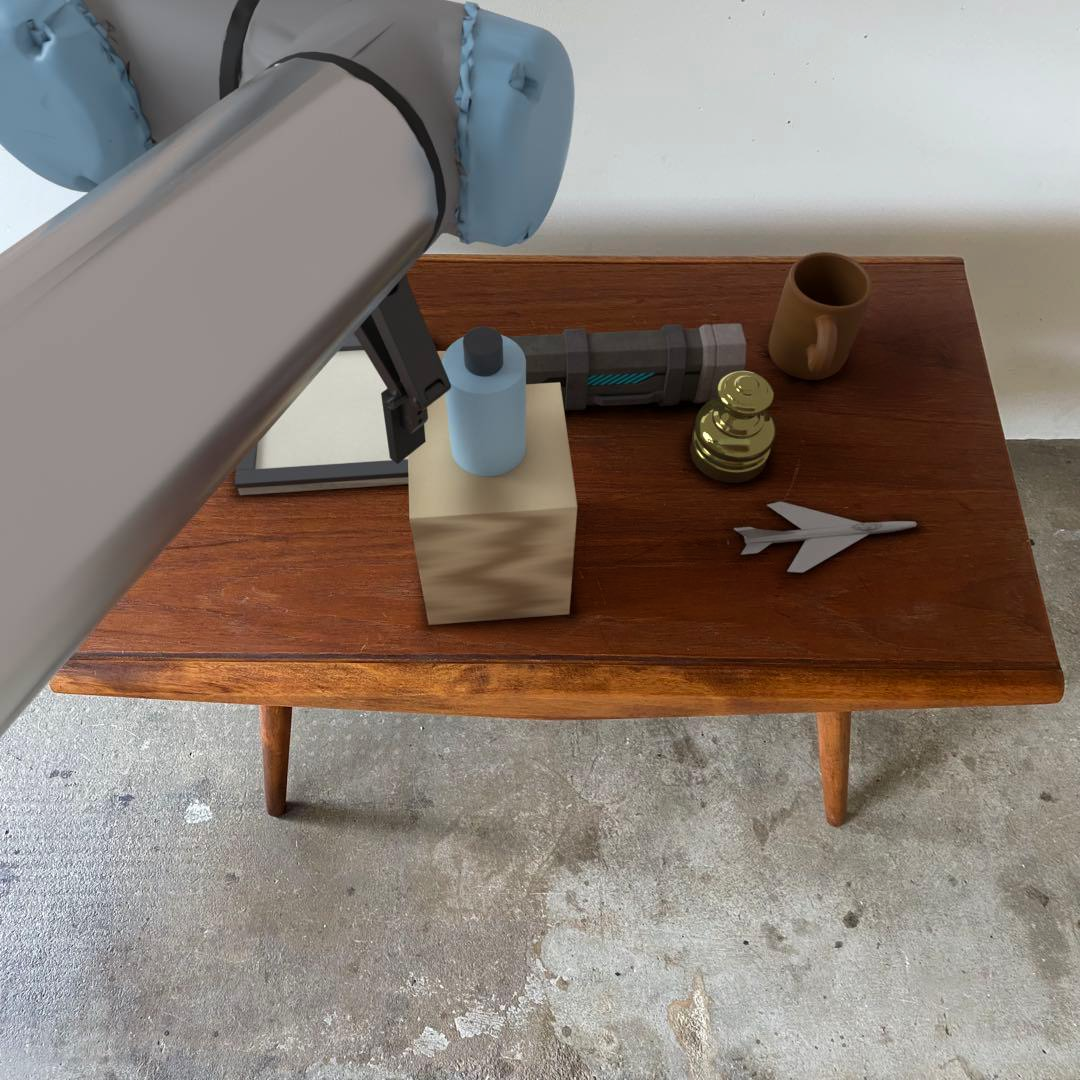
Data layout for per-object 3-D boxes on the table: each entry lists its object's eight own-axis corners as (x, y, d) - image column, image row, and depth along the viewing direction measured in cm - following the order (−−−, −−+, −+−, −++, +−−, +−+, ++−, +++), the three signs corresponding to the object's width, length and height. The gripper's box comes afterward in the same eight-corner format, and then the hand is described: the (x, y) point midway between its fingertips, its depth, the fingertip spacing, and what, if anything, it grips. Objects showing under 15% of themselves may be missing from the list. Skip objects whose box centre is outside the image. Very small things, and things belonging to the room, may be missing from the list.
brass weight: (740, 498, 89) (762, 429, 81) (673, 458, 92) (688, 386, 83) (781, 450, 92) (806, 378, 84) (716, 412, 95) (734, 339, 86)
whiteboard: (239, 495, 89) (234, 484, 87) (253, 353, 98) (248, 340, 97) (434, 482, 90) (433, 470, 88) (429, 343, 100) (427, 330, 98)
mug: (844, 424, 94) (876, 351, 86) (761, 412, 95) (784, 339, 86) (845, 331, 101) (874, 256, 93) (768, 321, 102) (789, 245, 93)
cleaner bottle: (452, 479, 70) (441, 375, 61) (449, 420, 73) (438, 312, 64) (529, 474, 70) (529, 369, 61) (522, 415, 73) (522, 308, 64)
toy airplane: (930, 562, 85) (939, 548, 84) (699, 585, 84) (703, 571, 82) (902, 493, 90) (910, 478, 88) (681, 513, 88) (685, 499, 86)
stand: (428, 625, 82) (409, 518, 68) (425, 509, 88) (406, 391, 75) (569, 614, 82) (577, 506, 69) (555, 500, 89) (560, 382, 75)
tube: (441, 390, 100) (731, 351, 98) (445, 449, 97) (742, 410, 96) (419, 335, 89) (742, 291, 88) (423, 400, 87) (755, 356, 85)
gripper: (511, 199, 48) (505, 462, 66) (198, 12, 57) (267, 290, 74) (403, 271, 45) (427, 528, 63) (88, 62, 54) (187, 340, 71)
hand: (340, 399), depth 69 cm, fingers open, 13 cm apart
